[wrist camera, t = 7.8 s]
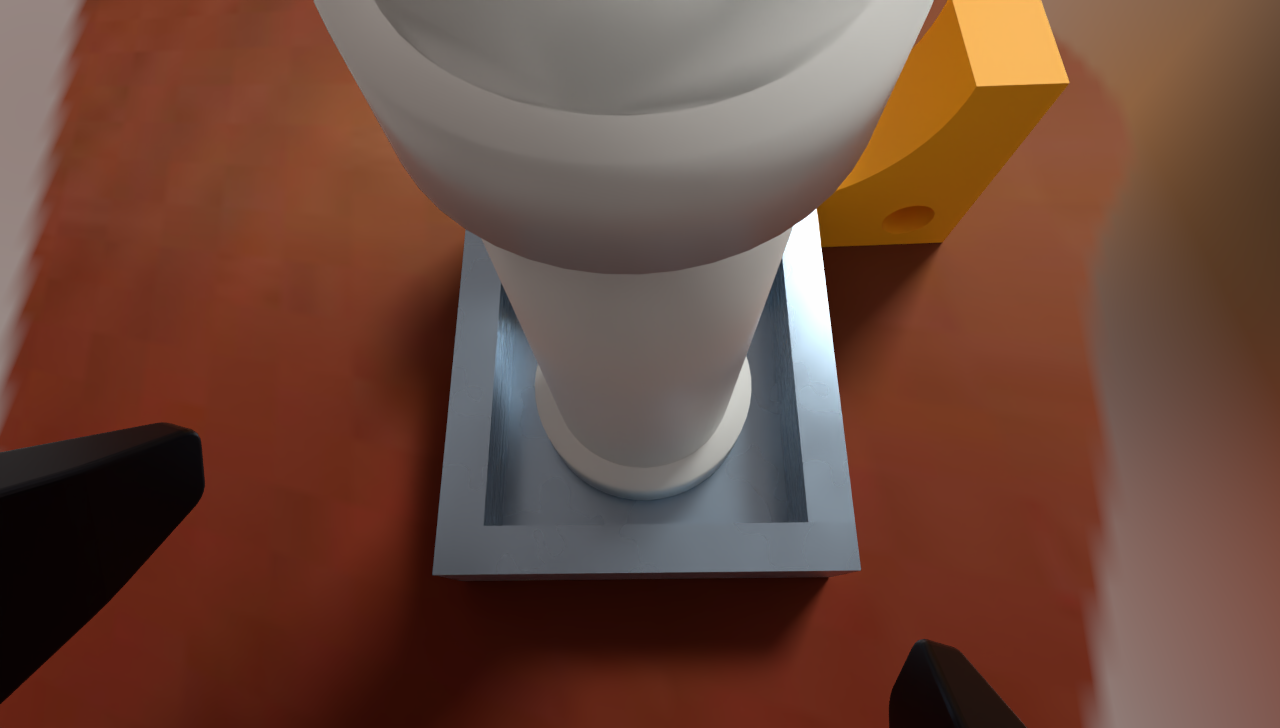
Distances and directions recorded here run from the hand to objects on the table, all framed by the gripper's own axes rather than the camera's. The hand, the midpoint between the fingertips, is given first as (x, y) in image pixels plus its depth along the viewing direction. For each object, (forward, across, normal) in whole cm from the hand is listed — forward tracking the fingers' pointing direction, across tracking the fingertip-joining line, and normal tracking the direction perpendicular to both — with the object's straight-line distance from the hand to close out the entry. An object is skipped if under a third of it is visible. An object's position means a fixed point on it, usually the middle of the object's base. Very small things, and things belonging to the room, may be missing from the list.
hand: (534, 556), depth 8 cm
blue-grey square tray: (+10, 0, +3) cm, 10 cm away
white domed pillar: (+9, 0, +2) cm, 10 cm away
